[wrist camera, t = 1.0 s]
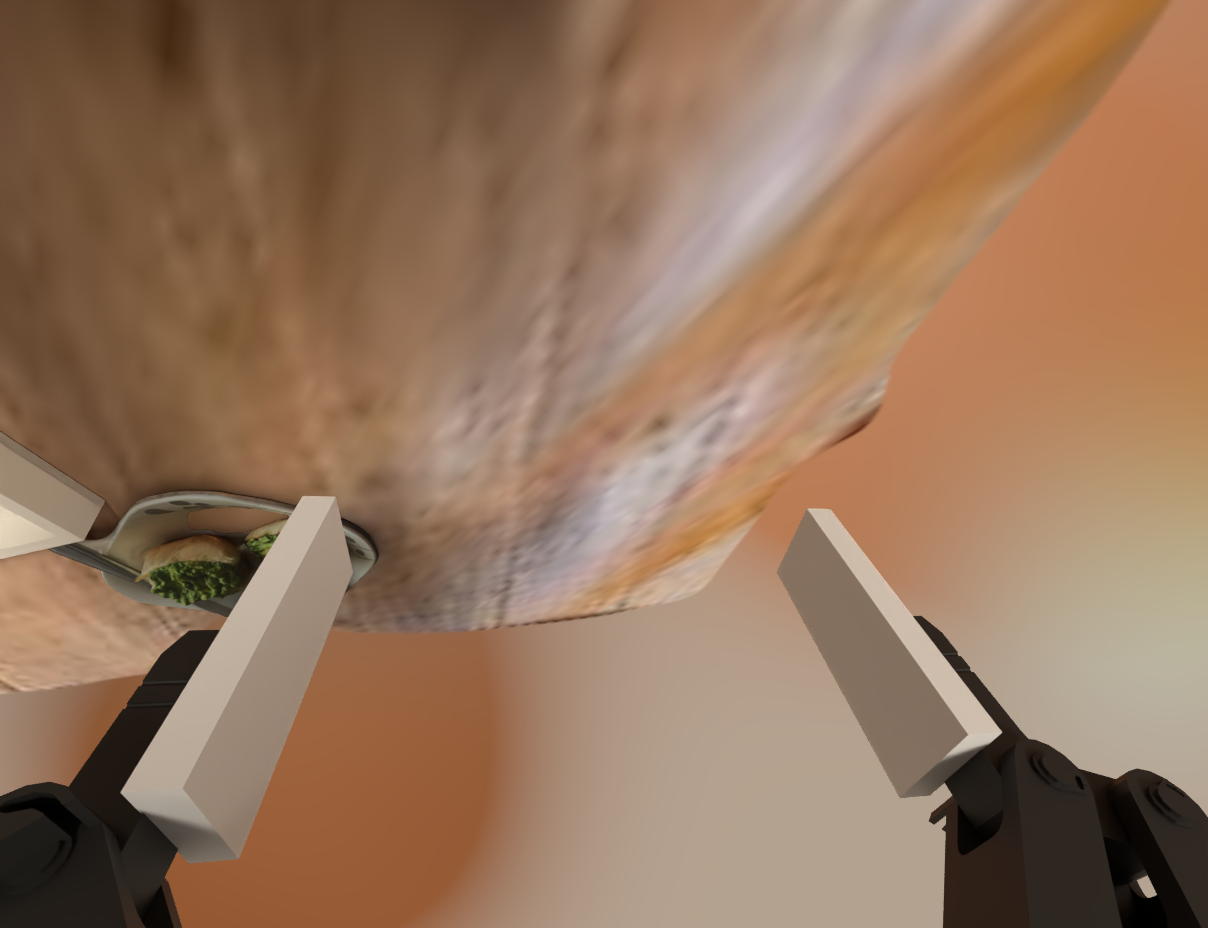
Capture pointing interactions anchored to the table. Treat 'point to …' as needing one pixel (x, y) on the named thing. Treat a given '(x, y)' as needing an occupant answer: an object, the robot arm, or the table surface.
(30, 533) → the cream square tray
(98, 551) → the salad plate
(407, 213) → the table surface
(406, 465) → the table surface
